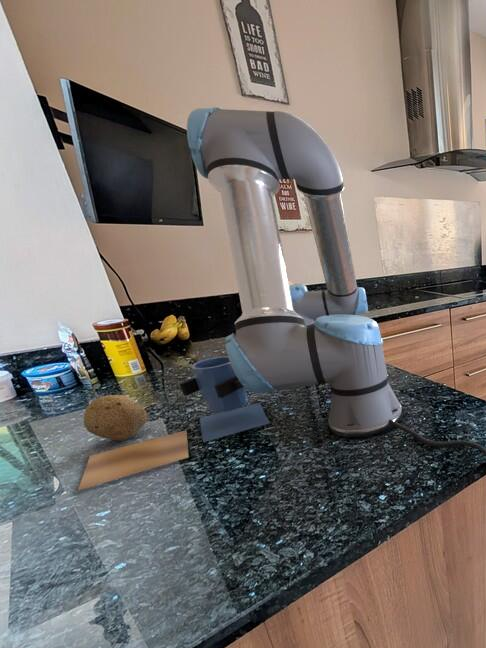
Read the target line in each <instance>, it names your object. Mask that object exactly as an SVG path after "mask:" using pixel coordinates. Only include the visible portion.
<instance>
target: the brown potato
mask: <svg viewBox="0 0 486 648" xmlns="http://www.w3.org/2000/svg"><path fill="white" fill-rule="evenodd" d="M115 395H116V394H109V395H108V394H107V395H102V396H99V397H97V398H95V399H94V400H92V401H91V402H90V403H89V404H88V405H87V406H86V408H85V411H84V414H83V425H84V427H85V429H86V430H87V432H89V433H90V434H92V435H94V436H96V437H99V438H103V439H108V440H112V441H116V442H124V441H127V440H130V439H131V438H134V436H136V434H137V433H138V431H140V429H141V428H142V427H143V426H144V425H145V424H146V423H147V421H148V413H147V412H146V410H145V409H144V408H143V407H142V406H140V404H138V403H137V402H136V401H135V400H134V399H133V400H134V401H135V402H134V401H133V400H131V399H128V398H126V397H121V396H115Z"/></svg>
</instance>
